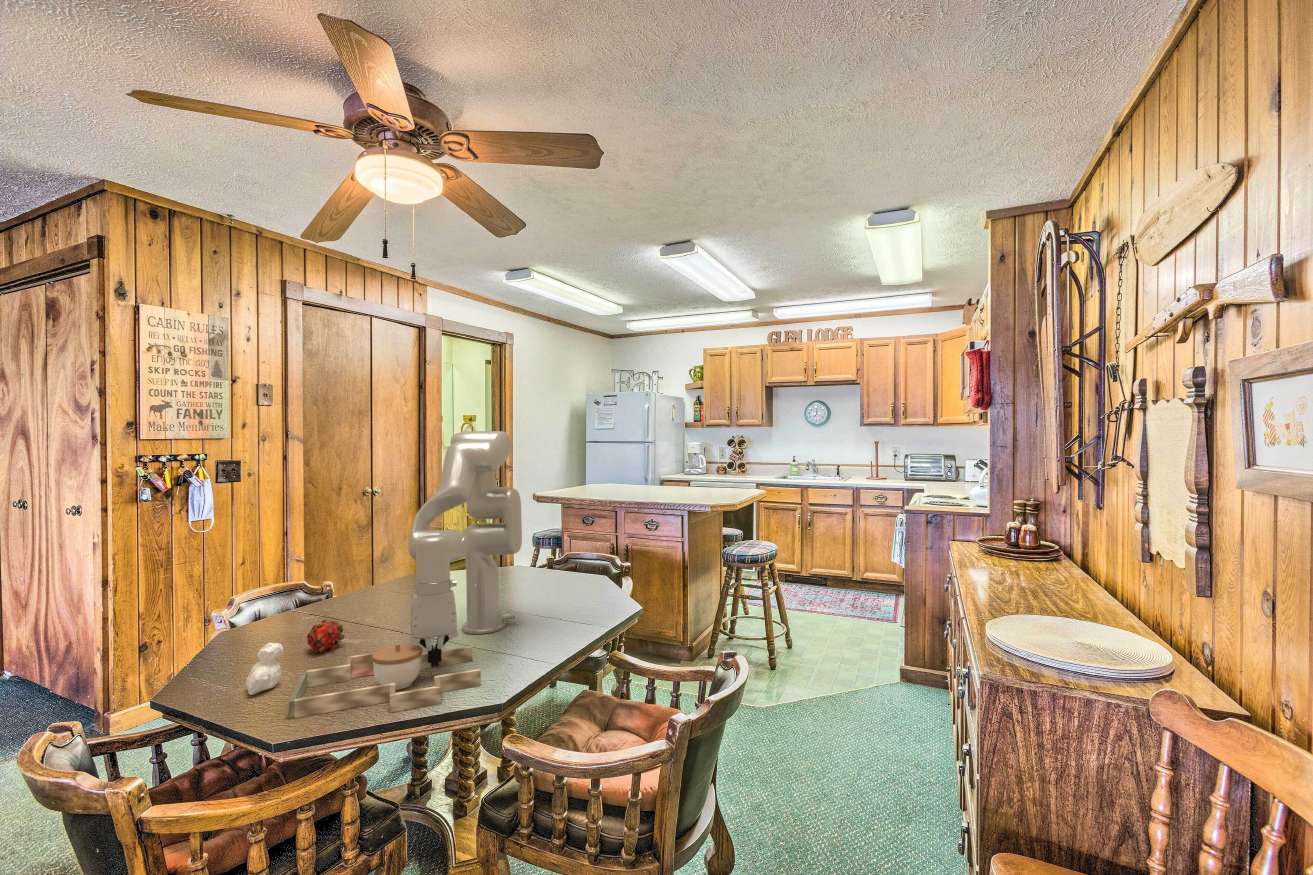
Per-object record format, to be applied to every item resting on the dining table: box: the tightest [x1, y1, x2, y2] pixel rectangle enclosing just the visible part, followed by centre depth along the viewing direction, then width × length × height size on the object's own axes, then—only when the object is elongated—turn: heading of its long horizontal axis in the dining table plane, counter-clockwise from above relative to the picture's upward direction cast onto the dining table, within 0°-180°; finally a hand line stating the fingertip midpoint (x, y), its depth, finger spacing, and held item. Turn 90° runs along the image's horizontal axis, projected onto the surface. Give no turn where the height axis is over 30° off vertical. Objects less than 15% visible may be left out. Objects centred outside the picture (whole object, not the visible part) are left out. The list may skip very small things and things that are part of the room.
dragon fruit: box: [306, 619, 346, 655], centre depth 163 cm, size 8×8×12 cm
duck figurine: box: [245, 641, 284, 696], centre depth 138 cm, size 12×8×11 cm
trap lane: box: [288, 645, 482, 720], centre depth 137 cm, size 38×30×4 cm
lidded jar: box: [372, 643, 424, 691], centre depth 138 cm, size 11×11×9 cm
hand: (434, 664), depth 141 cm, fingers closed
